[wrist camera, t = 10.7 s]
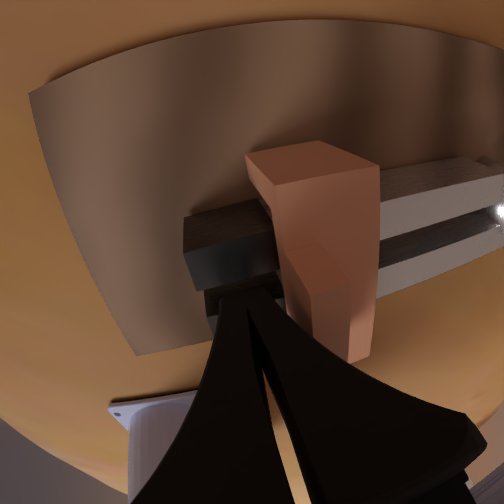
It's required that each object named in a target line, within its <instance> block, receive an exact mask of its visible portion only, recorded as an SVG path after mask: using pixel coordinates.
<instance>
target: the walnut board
mask: <svg viewBox="0 0 504 504" xmlns="http://www.w3.org/2000/svg"><path fill="white" fill-rule="evenodd" d="M28 94H29V99H30V104H31V108H32V113H33V117H34V121H35V125H36V129H37V132H38V136H39V140H40V143H41V147H42V150H43V154H44V157H45V160H46V163H47V167H48V170H49V173H50V176H51V179H52V182H53V185H54V187H55V190H56V193H57V196H58V199H59V201H60V204H61V207H62V209H63V212H64V214H65V217H66V219H67V222H68V224H69V227H70V229H71V232H72V234H73V236H74V239H75V241H76V243H77V246H78V248H79V250H80V252H81V255H82V257H83V259H84V261H85V263H86V265H87V267H88V270H89V272H90V274H91V276H92V278H93V280H94V282H95V284H96V286H97V288H98V290H99V292H100V294H101V296H102V298H103V299H104V301H105V303H106V305H107V307H108V309H109V311H110V312H111V314H112V316H113V318H114V320H115V321H116V323H117V325H118V327H119V328H120V330H121V332H122V334H123V335H124V337H125V339H126V340H127V342H128V344H129V345H130V347H131V349H132V350H133V352H134V354H135V355H136V356H140V355H145V354H150V353H155V352H160V351H165V350H170V349H175V348H179V347H184V346H188V345H193V344H197V343H202V342H206V341H210V340H213V339H214V336H213V334H212V331H211V328H210V326H209V323H208V320H207V317H206V309H205V300H204V290H202V291H198V292H196V289H195V286H194V284H193V281H192V278H191V275H190V272H189V270H188V267H187V264H186V261H185V258H184V256H183V223H184V217H187V216H191V215H194V214H198V213H202V212H205V211H209V210H213V209H217V208H220V207H224V206H228V205H232V204H236V203H240V202H243V201H247V200H251V199H255V198H259V197H262V196H261V194H260V193H259V192H258V190H257V189H256V187H255V186H254V185H253V183H252V182H251V181H250V179H249V175H248V170H247V165H246V160H245V154H247V153H252V152H257V151H262V150H267V149H272V148H277V147H282V146H288V145H293V144H299V143H305V142H311V141H317V140H319V141H322V142H324V143H327V144H329V145H332V146H334V147H337V148H339V149H342V150H344V151H347V152H349V153H352V154H354V155H356V156H359V157H361V158H363V159H366V160H368V161H370V162H373V163H375V164H377V165H379V168H380V171H382V170H388V169H393V168H398V167H404V166H409V165H415V164H421V163H427V162H433V161H439V160H445V159H451V158H458V157H465V158H468V159H470V160H473V161H476V160H477V159H478V158H479V157H482V156H489V157H491V158H494V159H496V160H499V161H501V162H504V50H502V49H499V48H496V47H493V46H490V45H487V44H484V43H481V42H477V41H474V40H470V39H467V38H463V37H459V36H455V35H451V34H447V33H442V32H438V31H433V30H428V29H422V28H417V27H411V26H404V25H397V24H389V23H380V22H369V21H355V20H326V19H314V20H285V21H271V22H260V23H250V24H242V25H235V26H228V27H222V28H216V29H210V30H205V31H200V32H195V33H190V34H185V35H181V36H177V37H173V38H169V39H165V40H161V41H157V42H154V43H150V44H147V45H143V46H140V47H137V48H134V49H130V50H127V51H124V52H121V53H119V54H116V55H113V56H110V57H107V58H105V59H102V60H99V61H97V62H94V63H92V64H89V65H87V66H84V67H82V68H80V69H77V70H75V71H73V72H71V73H68V74H66V75H64V76H62V77H60V78H58V79H56V80H53V81H51V82H49V83H47V84H45V85H43V86H42V87H40V88H38V89H36V90H34V91H32V92H30V93H28Z"/></svg>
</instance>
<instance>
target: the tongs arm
mask: <svg viewBox="0 0 504 504" xmlns="http://www.w3.org/2000/svg"><path fill="white" fill-rule="evenodd" d="M503 175H504V174H503V173H501V172H499V171H497V170H494V169H492V168H490V167H487V166H485V165H483V164H480V163H478V162H475V161H473V160H470V159H468V158H465V157H458V158H451V159H445V160H439V161H433V162H427V163H421V164H415V165H409V166H404V167H398V168H393V169H388V170H382V171H380V240H383V239H387V238H390V237H393V236H396V235H400V234H403V233H406V232H410V231H413V230H416V229H419V228H422V227H426V226H429V225H432V224H435V223H438V222H442V221H445V220H448V219H451V218H454V217H457V216H460V215H463V214H467V213H470V212H473V211H476V210H479V209H482V208H485V207H488V206H491V205H494V204H497V203H500V202H501V194H502V185H503ZM183 256H184V258H185V261H186V264H187V267H188V270H189V272H190V275H191V278H192V281H193V284H194V286H195V289H196V292H198V291H202V290H206V289H210V288H214V287H217V286H221V285H225V284H229V283H232V282H236V281H240V280H243V279H247V278H251V277H254V276H258V275H262V274H265V273H269V272H273V271H276V270H280V263H279V256H278V250H277V244H276V237H275V231H274V225H273V219H272V213H271V208H270V207H269V206H268V204H267V203H266V201H265V200H264V199H263V197H259V198H255V199H251V200H247V201H243V202H240V203H236V204H232V205H228V206H224V207H220V208H217V209H213V210H209V211H205V212H202V213H198V214H194V215H191V216H187V217H184V223H183Z"/></svg>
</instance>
